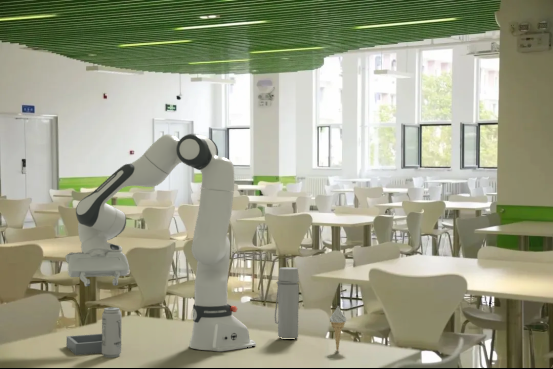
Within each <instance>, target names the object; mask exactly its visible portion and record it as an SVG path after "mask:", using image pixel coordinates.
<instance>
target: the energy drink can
mask: <svg viewBox="0 0 553 369" xmlns="http://www.w3.org/2000/svg"><path fill="white" fill-rule="evenodd" d="M122 319H123V318H122V312H121V309H120V307H117V306H116V307H112V306H111V307H104V309H103V312H102V314H101V334H102V353H101V354H102V355H103V357H104V358H118V357H120V355H121V353H122Z"/></svg>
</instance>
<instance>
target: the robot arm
mask: <svg viewBox="0 0 553 369" xmlns="http://www.w3.org/2000/svg"><path fill="white" fill-rule="evenodd" d="M181 163H183V164H185V166H188V167H190V168H192V169H193V168H194V169H195V170H198V171H200V173H201V185H200V186H201V188H200V195H199V196H200V197H199V206H198V213H197V218H196V221H195V222H196V223H195V226H194V231H193V236H192V237H193V238H192V243H191V249H190V250H191V254H192V256H193V258H194V259H195V261H197V262H196V263H197V264H196V272H195V278H194V300H193V301H194V304H193V305H192V321H193V325H192V332H191V333H192V334H191V338H190V340H189V348H191V349H194V350H200V351H201V350H202V351H214V352H226V351H233V350H239V349H240V350H241V349H247V347H248V348H253V347H252V346H255V347H257V343H256V341H255V340H253V339H252V338H250V334H249V329H248V327H247V325H245V324H244V323H243V322H242V321H241V320H239V319H238V318H237V317H235V316H234V315H233V313H237V312H238V307H237V306H236V305H231V304H229V303H228V282H229V281H228V278H229V271H230V270H229V269H230V258H231V257H230V254H231V242H230V239H229V236H228V231H229V226H230V222H231V217H232V212H233V203H234V191H235V166H234V164H233V162H232V161H231V160H230V159H228V158H227V157H224V156H219V150H218V146H217V144H216V142H214V140H213V139H211V138H210V137H208V136H206V135H203V134H199V133H189V134H186V135H184V136H182V137H181V138H178V137H177V136H175V135H173V134H168V133H167V134H163V135H162V136H160V137H159V138H158V139H157V140H155V141H154V142H153V143H152V144H151V145H150V146H149V147H148V148H147V149H146V151H145V152H144V153H143V154H141V156H140V157H139V158H137V159H136V160H134V161H132V162H130V163H125V164H123V165H122V166H120V168H119V167H118V169H117V170H116V171H115V172H113V173H112V174H111V175H110V176H108V178H107V179H105V181H104V182H102V183H101V184H100V185H98V187H97V188H95V189H94V190H93V191H92V192H91V193H90V194H87V196H85V197H83V198H81V200H80V201H79V202H78V204H77V205H76V208H75V215H76V219H77V221H78V225H77V231H78V237H79V242H81V246H80V248H81V251H80V252H79V251H78V252H69V253H67V254H66V255H65V257H64V258H65V261H66V263H67V274H68V276H69V277H71V278H79V279H80V280H81V282H83V284H84V287H90V285H91V280H90V277H91V278H92V277H93V278H94V277H114V278H113V279H112V282H111V283H112V286H118V285H119V279H120V277H122V276H123V277H125V276H127V275H128V274H129V271H130V265H129V260H128V258H127V255H126V254H124V253H123V247H122V246H121V245H118V244H115V243H114V244H113V243H112V242H107V241H110V240H112V239H114V238H116V237H117V236H119V235H121V234H122V232H124V230H125V228H126V227H127V226H126V225H127V216H126V214H125V212H124V211H122V210H121V209H118V208H116V206H112V205H110V204H108V203H107V202H108V201H110V200H111V199H112V198H113V197H114V196H115V195H116V194H117V193H119V192H120V190H122V189H124V188H126V187H143V188H153V187H156V186H159V185H160V184H162V183H163V182H164V181H165V180H166V179H167V177H168V176H169V175H170V174H171V172H172V171H173V170H174V169H175V168H176V167H177V166H178V165H179V164H181Z"/></svg>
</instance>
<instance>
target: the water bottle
mask: <svg viewBox="0 0 553 369" xmlns="http://www.w3.org/2000/svg"><path fill="white" fill-rule="evenodd" d="M298 269H299V268H298V267H294V266H293V267H290V266H289V267H287V266H286V267H284V266H283V267H279V269H278V277H277V279H278V281H276V284H277V292H276V299H275V310H274V323H275V324H277V325H278V326H277V337H278V336H279V337H282V338H296V339H298V338H299V292H300V291H299V290H300V287H299V285H300V284H299V283H300V282H299V281H300V278H299V270H298ZM277 313H278V314H277ZM277 316H278V317H277ZM277 319H278V320H277ZM279 337H278V338H279Z"/></svg>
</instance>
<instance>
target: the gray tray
mask: <svg viewBox="0 0 553 369" xmlns="http://www.w3.org/2000/svg"><path fill="white" fill-rule="evenodd" d="M66 348H67V349H68V350H69V351H71V353H73V354H74V355H75V356H77V355H78V356H79V355H90V354H100V353H101V354H102V333H95V334H94V333H93V334H80V335H79V334H78V335H67V336H66Z"/></svg>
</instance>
